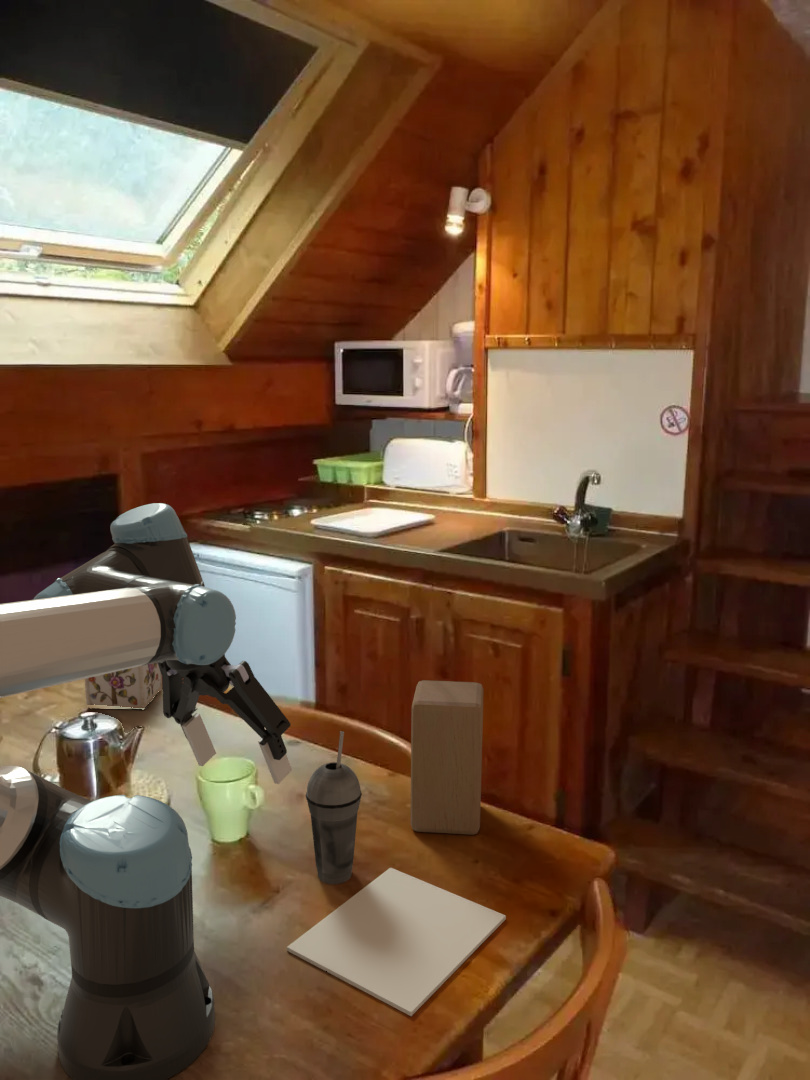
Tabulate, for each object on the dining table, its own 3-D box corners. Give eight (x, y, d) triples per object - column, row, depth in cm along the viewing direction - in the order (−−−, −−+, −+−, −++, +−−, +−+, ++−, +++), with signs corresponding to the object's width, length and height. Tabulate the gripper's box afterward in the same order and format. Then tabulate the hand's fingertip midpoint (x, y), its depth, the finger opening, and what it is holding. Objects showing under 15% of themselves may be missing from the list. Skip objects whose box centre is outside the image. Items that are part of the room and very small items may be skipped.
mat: (411, 1016, 91) (411, 1012, 91) (287, 950, 101) (286, 946, 101) (505, 919, 107) (505, 915, 107) (390, 870, 117) (390, 867, 117)
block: (480, 803, 135) (483, 680, 131) (479, 837, 125) (483, 706, 121) (415, 799, 136) (417, 677, 132) (409, 833, 126) (410, 702, 122)
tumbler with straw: (301, 865, 118) (298, 725, 114) (352, 854, 121) (351, 718, 117) (315, 895, 111) (312, 748, 107) (369, 883, 114) (369, 740, 110)
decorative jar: (107, 687, 181) (102, 603, 178) (163, 689, 181) (159, 604, 177) (84, 710, 170) (78, 621, 166) (144, 711, 169) (139, 622, 166)
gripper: (283, 618, 101) (335, 764, 109) (142, 605, 115) (197, 735, 123) (241, 654, 95) (299, 805, 103) (98, 636, 109) (159, 770, 118)
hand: (244, 767), depth 113 cm, fingers open, 13 cm apart
